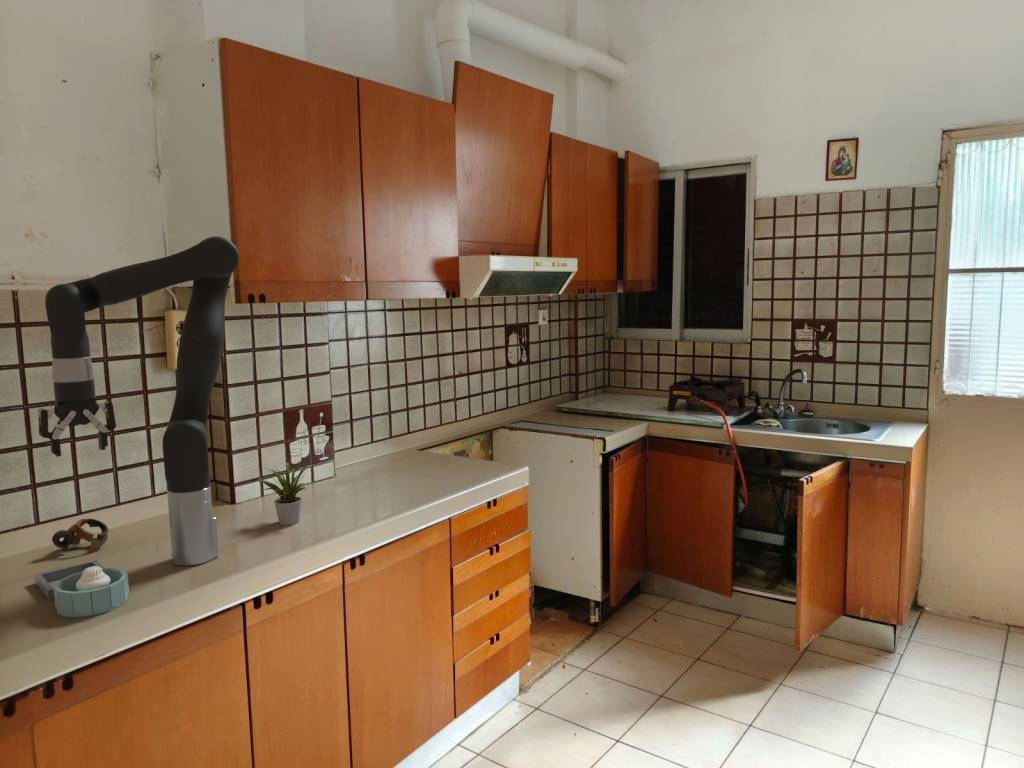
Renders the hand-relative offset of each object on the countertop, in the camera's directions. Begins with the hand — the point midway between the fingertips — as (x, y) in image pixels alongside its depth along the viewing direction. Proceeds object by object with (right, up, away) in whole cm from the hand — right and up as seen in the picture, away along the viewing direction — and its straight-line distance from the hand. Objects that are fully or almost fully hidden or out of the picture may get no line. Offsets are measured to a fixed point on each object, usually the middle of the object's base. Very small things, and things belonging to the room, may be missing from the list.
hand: (80, 452), depth 161 cm
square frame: (-1, -28, 0) cm, 28 cm away
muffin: (+9, -29, -10) cm, 32 cm away
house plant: (+34, -22, +41) cm, 58 cm away
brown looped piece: (-12, -26, +21) cm, 35 cm away
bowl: (+9, -30, -10) cm, 33 cm away
